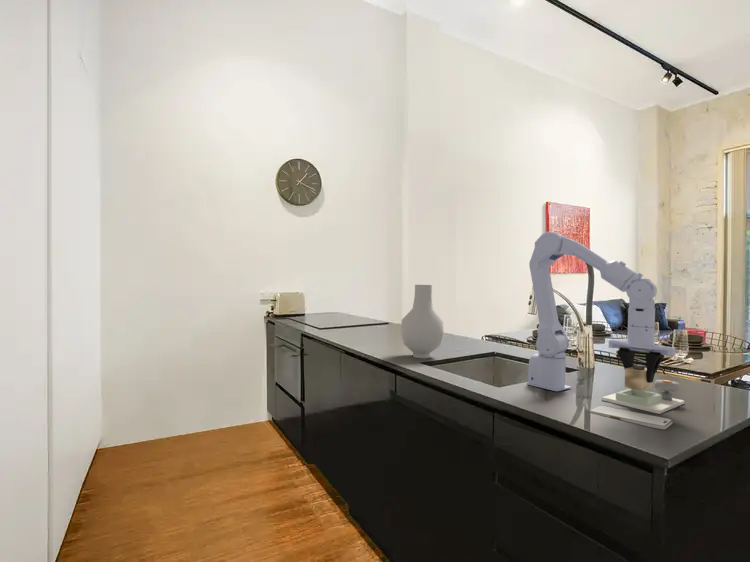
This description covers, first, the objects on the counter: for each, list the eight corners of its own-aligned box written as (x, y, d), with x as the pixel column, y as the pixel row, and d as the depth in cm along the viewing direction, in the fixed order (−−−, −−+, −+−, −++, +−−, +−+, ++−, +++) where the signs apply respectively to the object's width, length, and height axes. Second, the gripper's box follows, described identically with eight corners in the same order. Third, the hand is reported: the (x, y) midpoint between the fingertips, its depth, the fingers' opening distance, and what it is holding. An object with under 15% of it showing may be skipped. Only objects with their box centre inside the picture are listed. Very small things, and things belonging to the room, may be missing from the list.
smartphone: (599, 405, 102) (673, 419, 91) (599, 409, 102) (673, 424, 91) (587, 410, 97) (664, 426, 86) (587, 415, 97) (664, 432, 86)
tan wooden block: (624, 387, 105) (625, 365, 105) (634, 383, 109) (635, 363, 109) (642, 390, 102) (642, 368, 102) (652, 387, 106) (652, 365, 106)
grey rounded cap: (651, 392, 108) (652, 380, 108) (659, 389, 111) (659, 377, 111) (674, 396, 104) (674, 384, 104) (681, 393, 107) (682, 381, 107)
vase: (424, 352, 175) (426, 284, 175) (451, 358, 161) (453, 285, 161) (391, 354, 165) (393, 283, 165) (418, 362, 152) (420, 284, 152)
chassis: (601, 400, 108) (602, 378, 108) (628, 391, 117) (629, 371, 117) (659, 413, 97) (660, 389, 97) (684, 403, 107) (684, 381, 107)
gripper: (680, 328, 102) (679, 384, 102) (617, 323, 114) (616, 373, 114) (669, 330, 98) (668, 388, 98) (605, 324, 110) (604, 375, 110)
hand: (639, 380), depth 106 cm, fingers closed on tan wooden block, 4 cm apart
